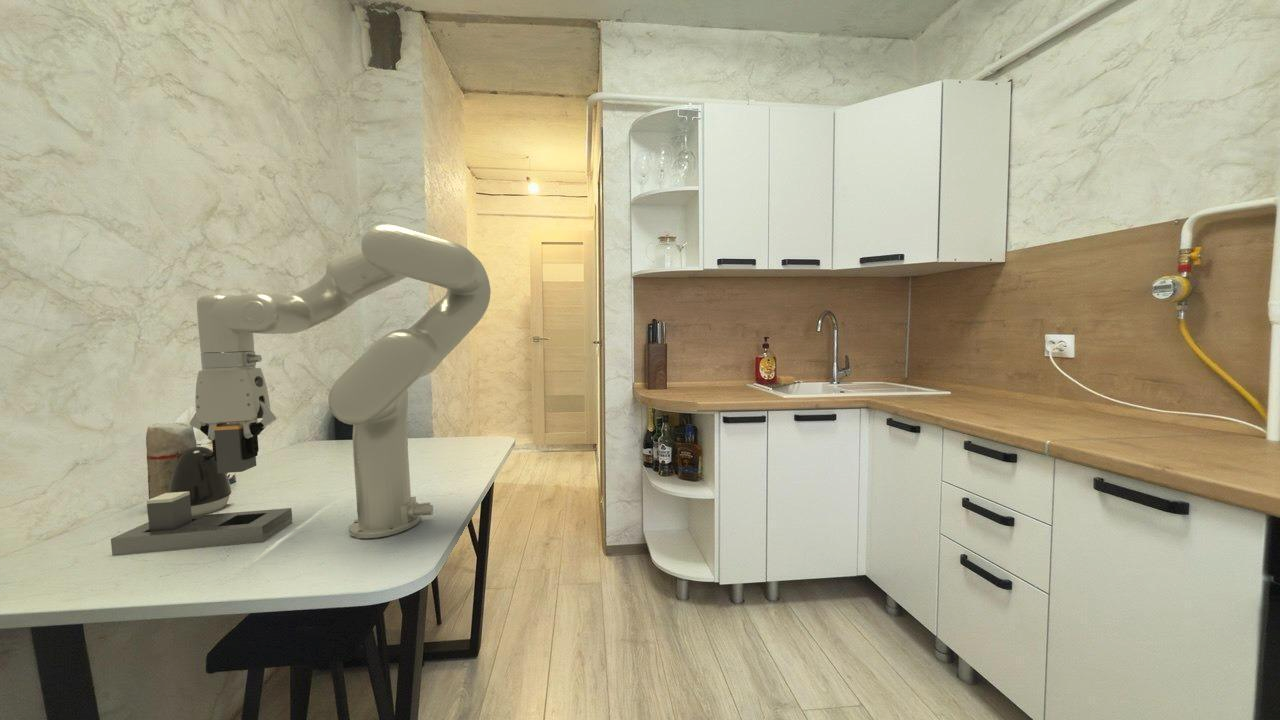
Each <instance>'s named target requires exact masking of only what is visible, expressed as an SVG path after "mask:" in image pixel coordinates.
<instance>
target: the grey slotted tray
mask: <svg viewBox="0 0 1280 720" xmlns="http://www.w3.org/2000/svg"><path fill="white" fill-rule="evenodd" d="M292 511H293V510H292V507H287V508H286V507H285V508H273V509H260V510H259V509H258V510H246V511H238V512H237V511H236V512H235V511H234V512H224V513H207V514H203V515H196V516H192V522H190V523H188V524H186V525H184V526H182V527H180V528H178V529H176V530H168V531H156V532H150V531H149V521H147V522H145V523H144V524H141V525H138V526H136V527H133V528H131V529H130V530H127V531H125V532H123V533H120V534H119V535H116V536H113V537H112V538H110V545H111V555H112V556H124V555H125V556H126V555H134V554H137V555H138V554H147V553H158V552H159V553H161V552H167V551H168V552H170V551H171V552H172V551H181V550H192V549H206V548H215V547H216V548H217V547H225V546H236V545H250V544H260V543H264V542H265V543H266V541H268V540H269V539H271V538H272V537H274V536H276V535H277V534H279V533H280V532H281V531H282V530H284V529H286V528H287V527H288V526H290V525H292V524H293V513H292Z"/></svg>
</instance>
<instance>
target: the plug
mask: <svg viewBox="0 0 1280 720" xmlns="http://www.w3.org/2000/svg"><path fill="white" fill-rule="evenodd" d="M214 433H215V445H216V457H217V469H218V473H226V474H227V473H228V474H229V473H230V474H231V473H242V472H245V471H247V470H250V469H252V468H254V467H257V456H255V457H253V458H250V459H248V460H244V459H243V452H242V439H243V438H245V436H244V433H243V430H242V427H241V423H240V422H238V423H227V424H224V425H220V426H217V427H214Z"/></svg>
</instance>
